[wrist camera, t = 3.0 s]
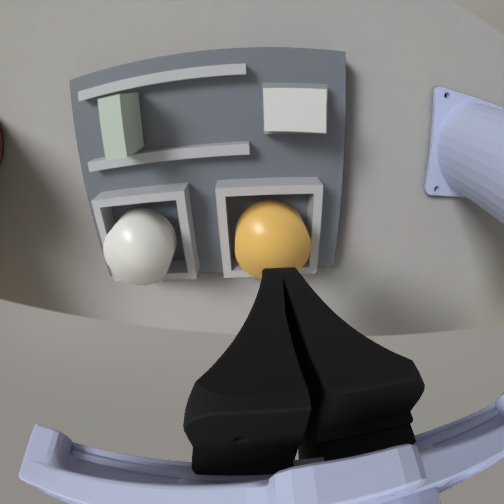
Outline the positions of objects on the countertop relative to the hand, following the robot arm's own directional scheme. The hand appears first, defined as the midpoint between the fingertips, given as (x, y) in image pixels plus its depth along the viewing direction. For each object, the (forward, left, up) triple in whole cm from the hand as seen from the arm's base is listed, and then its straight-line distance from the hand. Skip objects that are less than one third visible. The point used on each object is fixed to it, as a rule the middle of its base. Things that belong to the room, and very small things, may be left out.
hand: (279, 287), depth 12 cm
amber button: (0, 0, -6) cm, 6 cm away
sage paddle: (+7, -7, -7) cm, 12 cm away
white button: (+7, 0, -6) cm, 9 cm away
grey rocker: (-2, -7, -6) cm, 9 cm away
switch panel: (+3, -3, -8) cm, 10 cm away
